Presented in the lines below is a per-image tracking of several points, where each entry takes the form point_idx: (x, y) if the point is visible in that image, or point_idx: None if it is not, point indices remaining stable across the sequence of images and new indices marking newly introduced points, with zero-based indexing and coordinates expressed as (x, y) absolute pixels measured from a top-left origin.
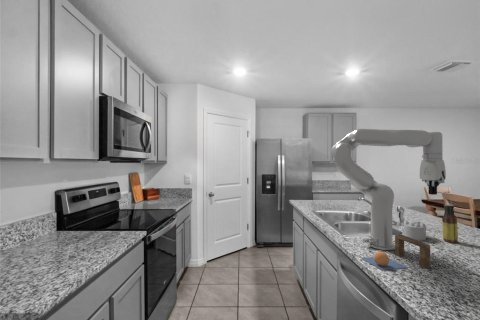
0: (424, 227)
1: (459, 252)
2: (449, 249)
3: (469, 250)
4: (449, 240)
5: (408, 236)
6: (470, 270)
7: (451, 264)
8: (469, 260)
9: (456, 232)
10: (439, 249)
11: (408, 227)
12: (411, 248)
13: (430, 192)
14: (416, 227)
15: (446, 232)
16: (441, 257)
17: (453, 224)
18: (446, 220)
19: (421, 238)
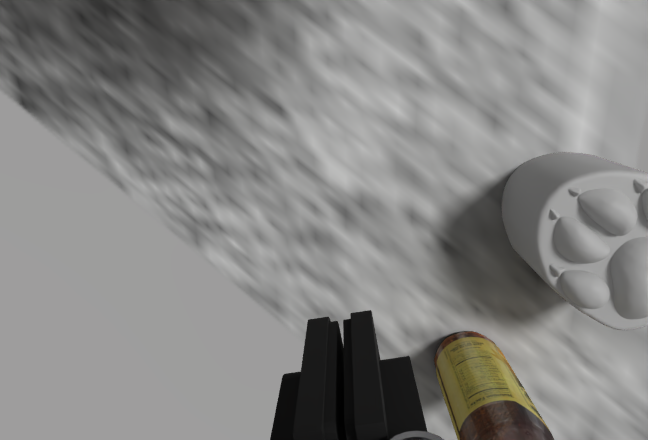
0: (542, 272)
1: (298, 266)
2: (341, 252)
3: None
4: (448, 343)
5: (553, 157)
6: (63, 122)
7: (125, 87)
8: (191, 223)
9: (446, 404)
10: (341, 198)
11: (586, 170)
12: (357, 35)
13: (336, 336)
14: (544, 208)
15: (470, 362)
16: (218, 111)
17: (458, 425)
18: (494, 418)
19: (506, 217)
